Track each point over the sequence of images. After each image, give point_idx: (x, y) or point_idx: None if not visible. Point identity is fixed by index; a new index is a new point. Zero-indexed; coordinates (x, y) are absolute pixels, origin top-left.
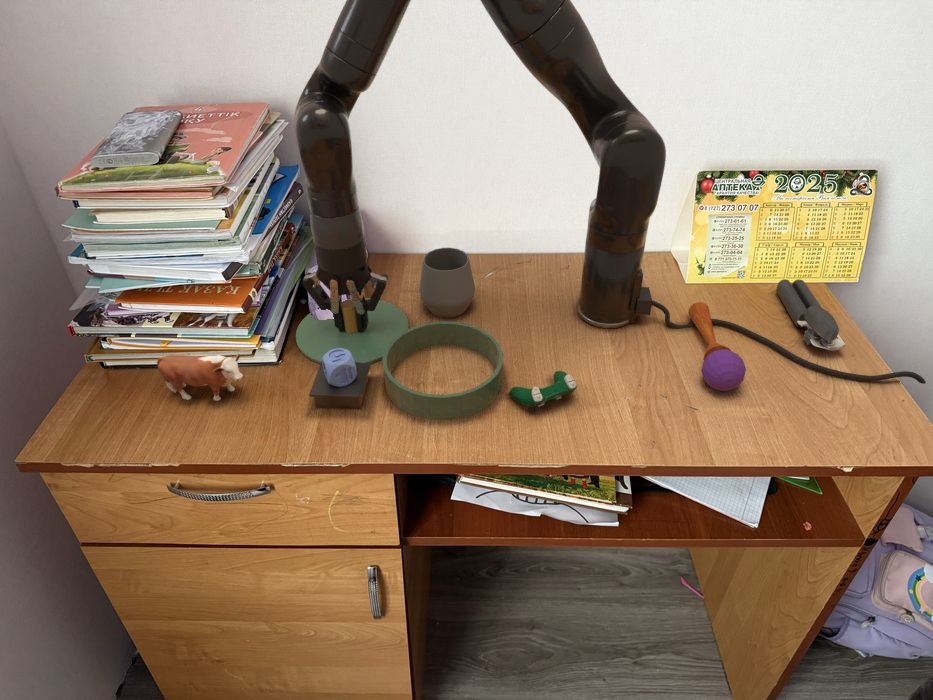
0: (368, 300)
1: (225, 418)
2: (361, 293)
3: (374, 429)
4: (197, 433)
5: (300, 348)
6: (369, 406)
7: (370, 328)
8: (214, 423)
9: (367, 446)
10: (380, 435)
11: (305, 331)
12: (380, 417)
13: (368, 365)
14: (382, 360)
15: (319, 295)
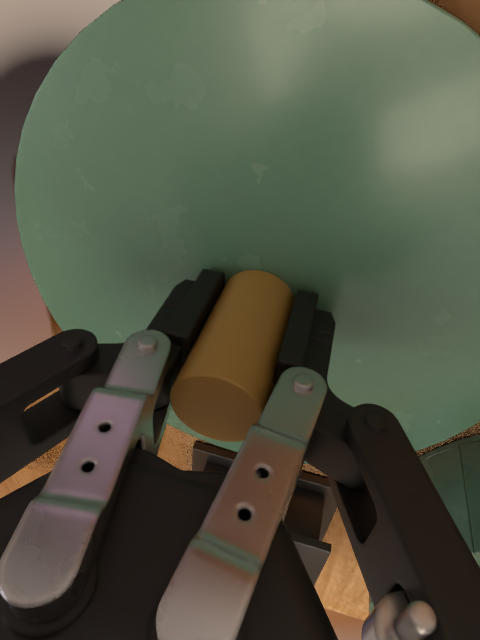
0: (336, 450)
1: (32, 472)
2: (286, 507)
3: (333, 574)
4: (7, 484)
5: None
6: (324, 536)
7: (344, 315)
8: (21, 475)
9: (317, 591)
10: (345, 586)
11: (64, 279)
12: (349, 561)
13: (323, 558)
14: (370, 607)
15: (31, 458)
